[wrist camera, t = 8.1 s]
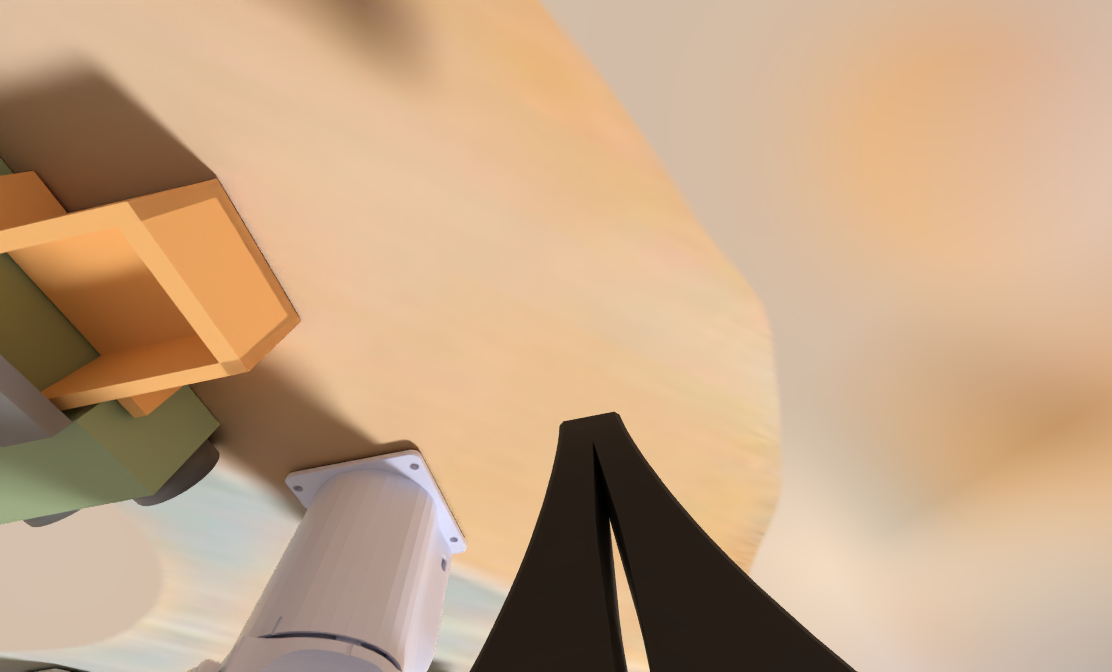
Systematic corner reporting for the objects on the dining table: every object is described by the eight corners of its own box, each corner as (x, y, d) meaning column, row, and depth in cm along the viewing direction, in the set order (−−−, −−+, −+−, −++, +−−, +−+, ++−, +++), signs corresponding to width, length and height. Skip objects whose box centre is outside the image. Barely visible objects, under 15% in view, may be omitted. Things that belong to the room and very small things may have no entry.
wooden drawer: (317, 349, 20) (271, 403, 16) (145, 385, 20) (64, 445, 17) (190, 133, 15) (85, 143, 12) (-32, 186, 16) (-198, 212, 12)
